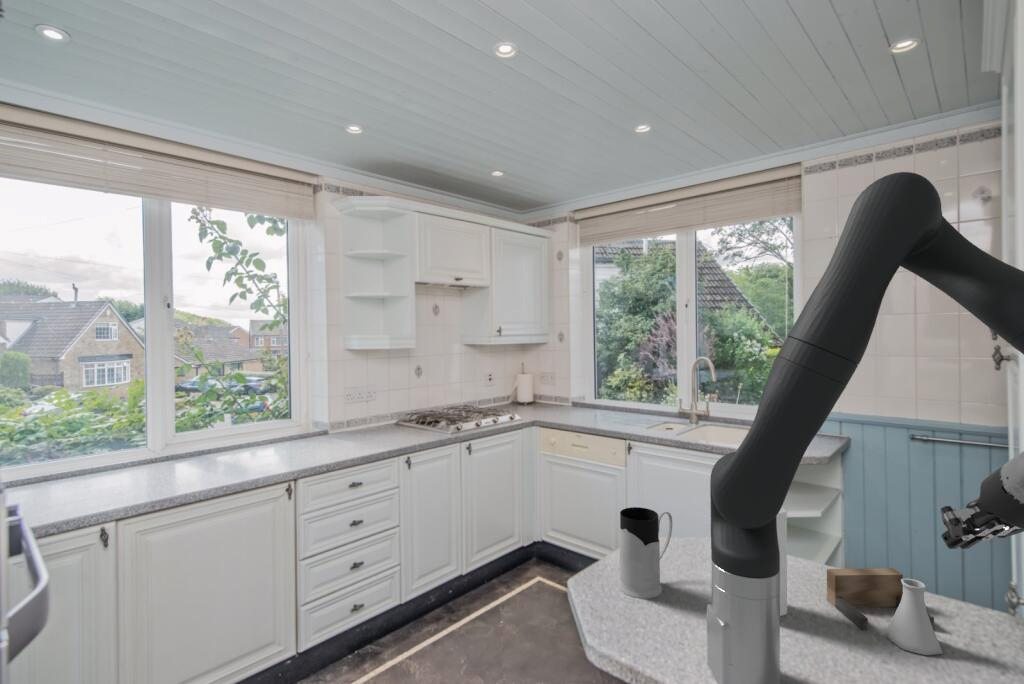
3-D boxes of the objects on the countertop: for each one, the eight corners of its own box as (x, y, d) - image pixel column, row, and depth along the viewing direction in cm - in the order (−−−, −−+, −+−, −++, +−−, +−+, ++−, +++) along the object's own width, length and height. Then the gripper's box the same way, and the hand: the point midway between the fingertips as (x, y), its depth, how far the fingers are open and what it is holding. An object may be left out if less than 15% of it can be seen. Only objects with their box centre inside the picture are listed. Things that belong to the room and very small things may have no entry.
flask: (953, 659, 78) (953, 596, 78) (900, 654, 80) (900, 592, 79) (925, 632, 85) (925, 574, 85) (877, 627, 87) (877, 570, 87)
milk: (736, 605, 95) (734, 489, 94) (760, 598, 97) (759, 484, 96) (763, 622, 89) (761, 498, 88) (788, 614, 91) (786, 494, 91)
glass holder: (608, 584, 103) (607, 512, 102) (655, 565, 111) (654, 498, 110) (641, 603, 96) (640, 525, 95) (689, 581, 103) (688, 509, 103)
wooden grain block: (860, 629, 86) (860, 595, 86) (826, 599, 96) (826, 568, 95) (933, 629, 86) (934, 594, 86) (892, 599, 95) (892, 568, 95)
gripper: (1071, 458, 64) (983, 517, 77) (964, 460, 65) (893, 518, 77) (1120, 515, 59) (1017, 568, 72) (1004, 516, 59) (921, 569, 72)
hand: (953, 542), depth 74 cm, fingers closed
